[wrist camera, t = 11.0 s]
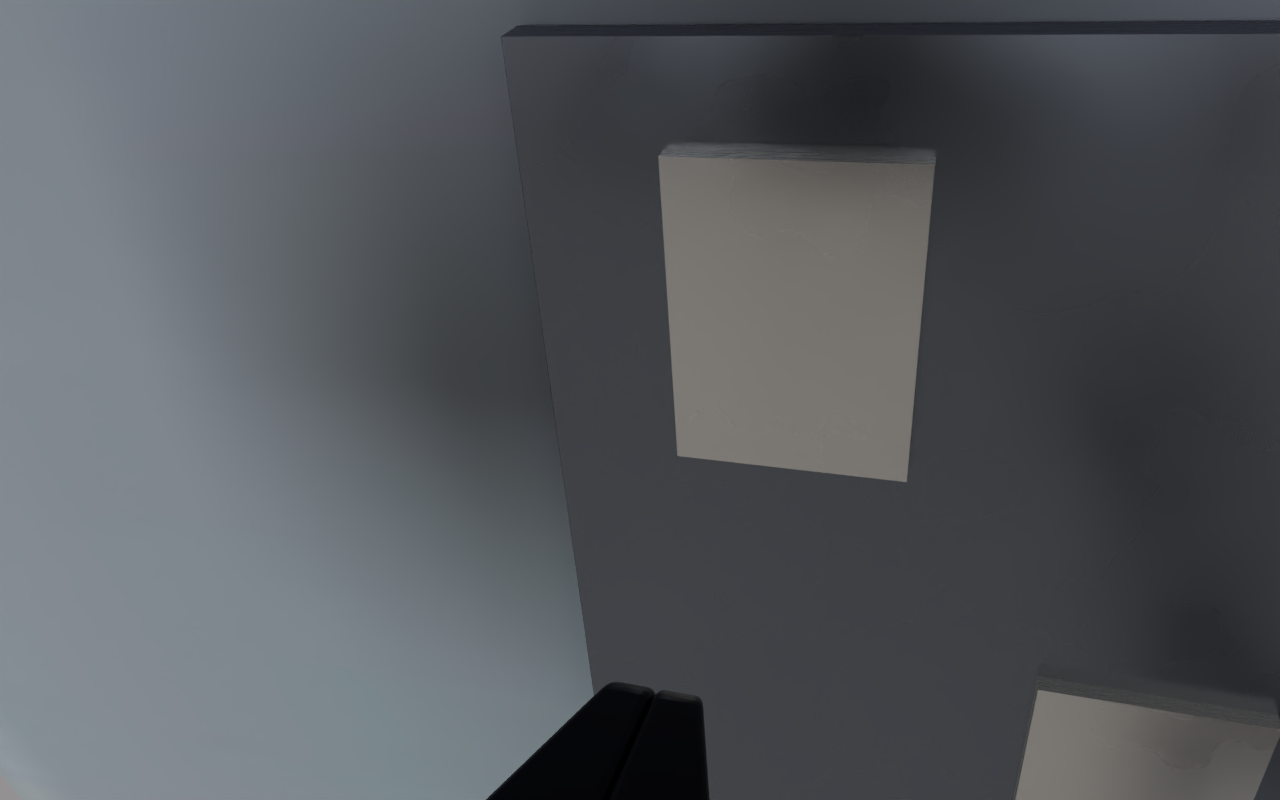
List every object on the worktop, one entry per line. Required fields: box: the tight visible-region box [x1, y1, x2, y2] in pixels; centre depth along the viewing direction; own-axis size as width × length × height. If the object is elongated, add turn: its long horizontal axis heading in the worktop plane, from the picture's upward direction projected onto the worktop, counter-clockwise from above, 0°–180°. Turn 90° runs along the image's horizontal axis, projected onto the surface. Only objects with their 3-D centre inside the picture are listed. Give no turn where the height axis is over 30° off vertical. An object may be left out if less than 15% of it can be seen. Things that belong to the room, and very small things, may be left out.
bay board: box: [501, 21, 1280, 800], centre depth 17 cm, size 18×14×1 cm
